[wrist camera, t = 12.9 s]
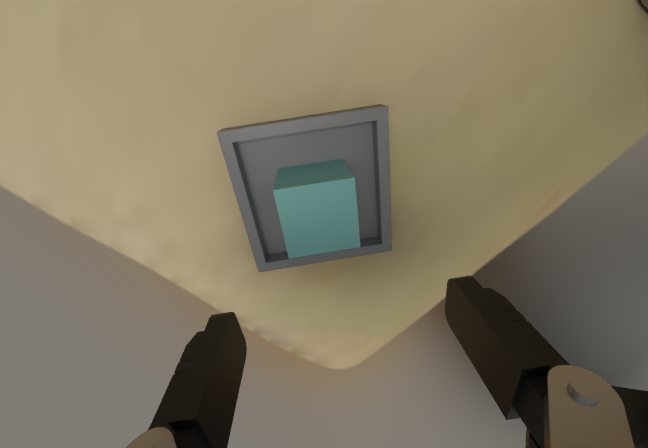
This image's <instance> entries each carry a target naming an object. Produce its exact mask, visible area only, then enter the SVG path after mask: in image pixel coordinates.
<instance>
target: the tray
mask: <svg viewBox="0 0 648 448" xmlns="http://www.w3.org/2000/svg"><path fill="white" fill-rule="evenodd" d="M217 135H218V139H219V142H220V145H221V149H222V152H223V155H224V158H225V162H226V165H227V168H228V172H229V175H230V178H231V182H232V185H233V188H234V192H235V195H236V198H237V201H238V205H239V208H240V211H241V215H242V218H243V221H244V225H245V228H246V231H247V234H248V238H249V241H250V244H251V248H252V251H253V254H254V258H255V261H256V264H257V268H258V271H259V272H263V271H269V270H275V269H281V268H287V267H293V266H299V265H305V264H311V263H317V262H323V261H329V260H335V259H342V258H348V257H354V256H360V255H366V254H372V253H378V252H384V251H390V250H392V246H391V207H390V168H389V129H388V106H386V105H374V106H368V107H361V108H355V109H348V110H342V111H335V112H329V113H322V114H316V115H309V116H303V117H296V118H290V119H283V120H277V121H270V122H264V123H257V124H251V125H244V126H238V127H232V128H225V129H222V130H220V131H218V132H217ZM337 159H343V160H344V162H345V163H346V165H347V166H348V168H349V169H350V171H351V172H352V174H353V175H354V177H355V186H356V198H357V210H358V221H359V233H360V245H361V247H358V248H352V249H346V250H340V251H334V252H327V253H321V254H315V255H309V256H303V257H297V258H291V259H289V257H288V253H287V249H286V244H285V240H284V236H283V231H282V227H281V223H280V218H279V214H278V210H277V206H276V201H275V197H274V193H273V188H274V184H275V180H276V175H277V171H278V169H279V168H285V167H292V166H298V165H304V164H311V163H317V162H324V161H330V160H337Z"/></svg>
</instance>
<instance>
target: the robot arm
mask: <svg viewBox="0 0 648 448" xmlns="http://www.w3.org/2000/svg"><path fill="white" fill-rule="evenodd" d="M641 2H642V4H643V5H644V6H645V7H646V8H647V10H648V0H641ZM445 314H446V318H447V322H448V324H449V326H450V327H451V329H452V331H453V333H454V334H455V336H456V338H457V339H458V341H459V342H460V344H461V346H462V347H463V349H464V351H465V352H466V354H467V356H468V357H469V359H470V360H471V362H472V364H473V365H474V367H475V369H476V370H477V372H478V374H479V375H480V377H481V378H482V380H483V382H484V384H485V385H486V387H487V388H488V390H489V392H490V393H491V395H492V397H493V398H494V400H495V402H496V403H497V405H498V407H499V408H500V410H501V412H502V413H503V415H504V416H505V418H506V420H509V419H516V418H521V419H522V421H523V422H524V424H525V425H526V427H527V430H526V448H648V391H641V390H635V389H628V388H622V387H615V386H611V385H609V384H608V383H606V382H605V381H604V380H603V379H601V378H600V377H598V376H597V375H595V374H593V373H591V372H589V371H587V370H585V369H582V368H579V367H575V366H571V365H570V364H569V363H567V361H566V360H565V359H564V358H563V357H562V356H561V355H560V354H559V353H558V352H557V351H556V350H555V349H554V348H553V347H552V346H551V345H550V344H549V343H548V342H547V341H546V340H545V339H544V337H543V336H542V335H541V334H540V333H539V332H538V331H537V330H536V329H535V328H534V327H533V326H532V325H531V324H530V323H529V322H528V321H526V319H525V318H524V316H523V315H522V314H521V313H520V312H519V311H516V308H515V307H514V306H513V305H512V304H511V303H510V302H509V301H508V300H507V299H506V298H505V297H504V296H502V295H501V294H499V293H497V292H496V291H494V290H493V289H491V288H485V289H483V288H482V287H481V285H480V284H479V283H478V282H477V281H476V280H475V279H474V278H473V277H472V276H465V277H459V278H452V279H449V280H448V282H447V292H446V303H445ZM245 359H246V341H245V338H244V335H243V333H242V330H241V328H240V325H239V323H238V320H237V318H236V315H235V313H234V312H228V313H222V314H215V315H212V316H211V317H210V318H209V321H208V323H207V326H206V328H205V330H204V331H202V332H197V333H196V335H195V336H194V337H193V338H192V339H191V341H190V342H189V343H188V344H187V345H186V347H185V350H184V352H183V354H182V356H181V359H180V363H178V365H177V367H176V370H175V374H174V375H173V377H172V379H171V381H170V383H169V385H168V388H167V390H166V392H165V394H164V396H163V399H162V401H161V403H160V405H159V408H158V410H157V412H156V414H155V416H154V419H153V421H152V423H151V425H150V427H149V429H148V430H147V431H146V432H144V433H142V434H141V435H139V436H138V437H137V438H135V439H134V440H133V441H132V442H131V443H130V444H129V445H128V446H127V447H126V448H227V445H228V440H229V436H230V431H231V426H232V421H233V417H234V412H235V407H236V402H237V397H238V393H239V388H240V383H241V379H242V374H243V369H244V364H245Z"/></svg>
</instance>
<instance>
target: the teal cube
mask: <svg viewBox="0 0 648 448" xmlns="http://www.w3.org/2000/svg"><path fill="white" fill-rule="evenodd" d="M273 193H274V197H275V201H276V206H277V210H278V214H279V218H280V223H281V227H282V231H283V236H284V240H285V244H286V249H287V253H288V257H289V259H291V258H297V257H303V256H309V255H315V254H321V253H327V252H334V251H340V250H346V249H352V248H358V247H361V245H360V233H359V221H358V210H357V198H356V186H355V177H354V175H353V174H352V172H351V171H350V169H349V168H348V166H347V165H346V163H345V162H344V160H343V159H337V160H330V161H324V162H317V163H311V164H304V165H298V166H292V167H285V168H279V169H278V171H277V175H276V180H275V184H274V188H273Z"/></svg>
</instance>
